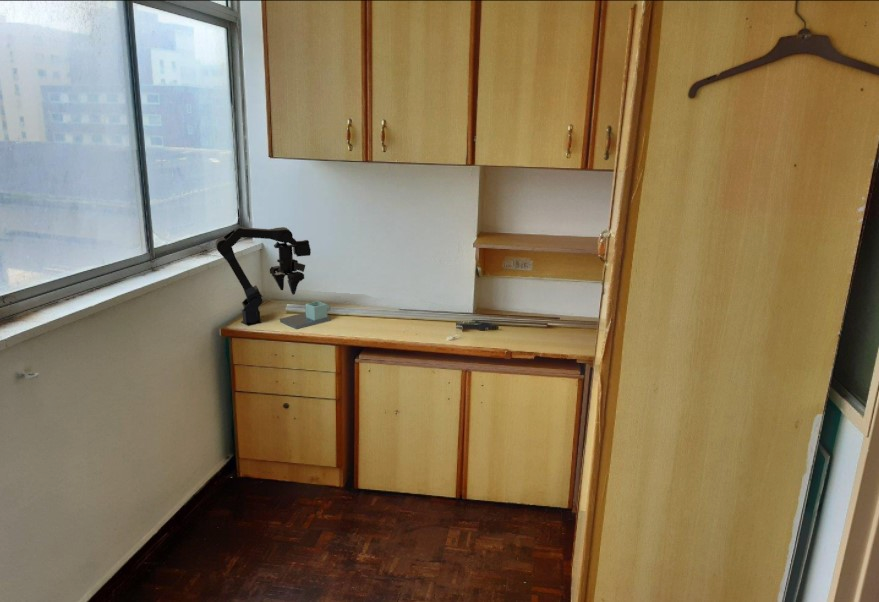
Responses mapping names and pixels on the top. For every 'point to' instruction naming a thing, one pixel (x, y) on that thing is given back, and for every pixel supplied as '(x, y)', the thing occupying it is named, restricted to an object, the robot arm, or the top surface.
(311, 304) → the duct collar
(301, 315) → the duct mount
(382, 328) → the top surface
